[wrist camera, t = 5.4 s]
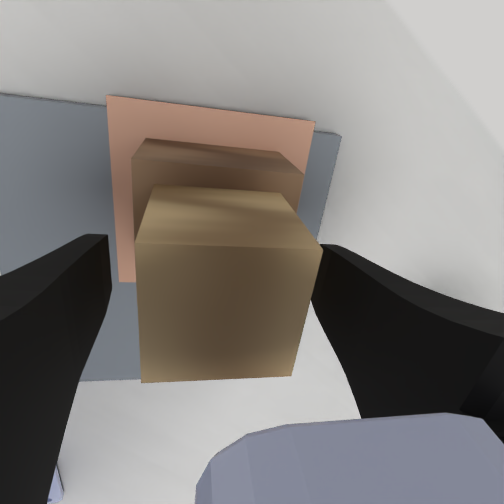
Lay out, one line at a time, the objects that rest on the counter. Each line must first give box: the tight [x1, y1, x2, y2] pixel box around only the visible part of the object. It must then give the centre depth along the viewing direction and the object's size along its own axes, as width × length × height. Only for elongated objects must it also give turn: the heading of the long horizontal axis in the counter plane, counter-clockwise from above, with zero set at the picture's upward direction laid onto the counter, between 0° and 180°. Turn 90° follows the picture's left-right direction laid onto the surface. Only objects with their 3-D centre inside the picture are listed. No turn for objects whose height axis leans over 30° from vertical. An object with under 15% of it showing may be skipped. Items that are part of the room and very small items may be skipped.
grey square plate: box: [0, 93, 342, 382], centre depth 18 cm, size 16×16×1 cm
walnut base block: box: [131, 138, 304, 306], centre depth 14 cm, size 6×6×4 cm
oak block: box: [135, 184, 323, 383], centre depth 11 cm, size 4×4×4 cm
